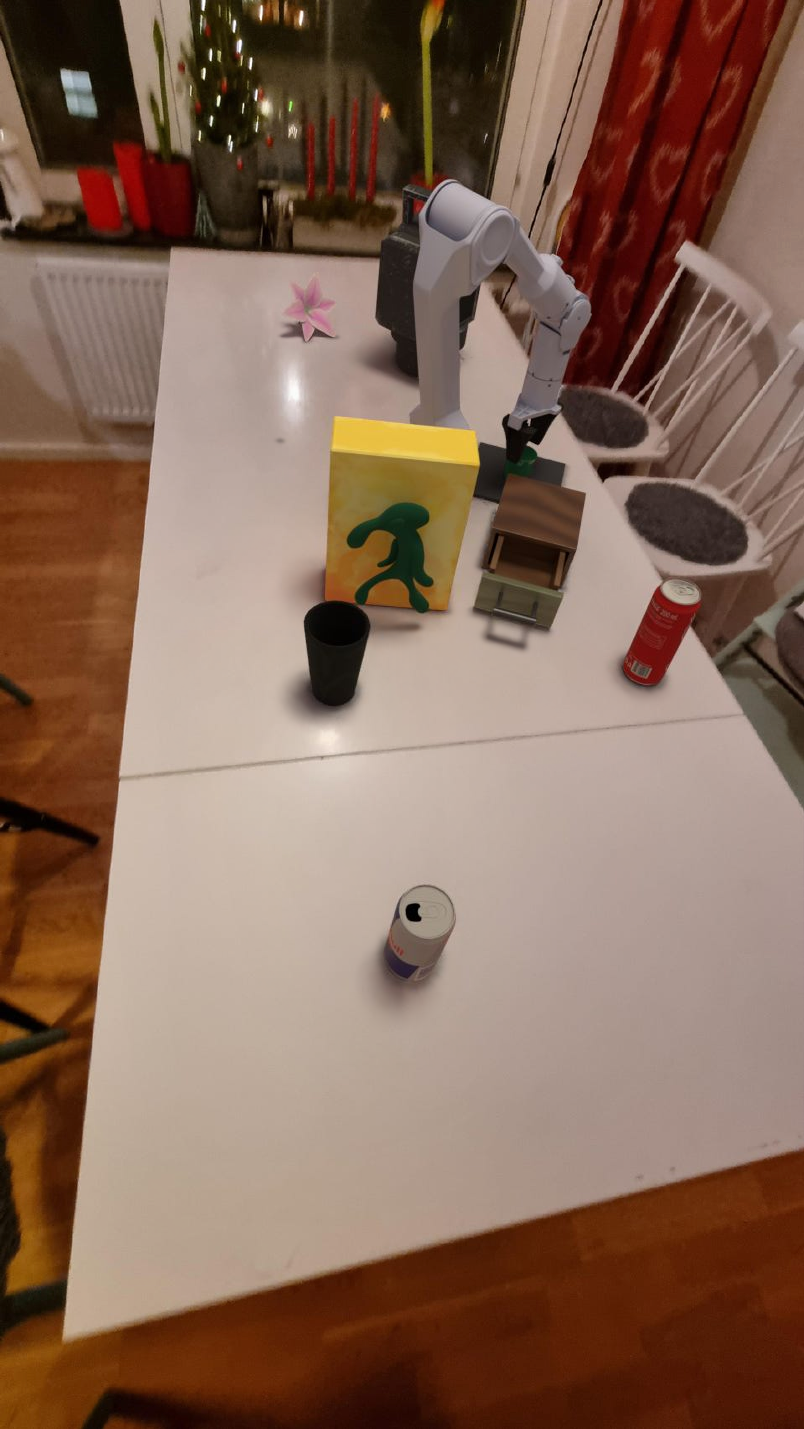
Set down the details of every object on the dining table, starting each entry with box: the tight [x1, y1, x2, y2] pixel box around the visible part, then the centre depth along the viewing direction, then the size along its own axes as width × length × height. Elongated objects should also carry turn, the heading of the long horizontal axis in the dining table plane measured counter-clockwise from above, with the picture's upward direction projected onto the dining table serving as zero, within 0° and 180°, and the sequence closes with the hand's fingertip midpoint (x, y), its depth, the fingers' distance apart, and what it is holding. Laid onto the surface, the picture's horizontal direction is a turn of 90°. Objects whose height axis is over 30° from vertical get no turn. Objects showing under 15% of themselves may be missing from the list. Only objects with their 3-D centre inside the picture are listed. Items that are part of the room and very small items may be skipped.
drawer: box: [473, 534, 566, 628], centre depth 100 cm, size 18×11×6 cm, turn 165°
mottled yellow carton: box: [324, 415, 480, 614], centre depth 90 cm, size 18×12×24 cm
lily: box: [282, 271, 337, 342], centre depth 144 cm, size 12×12×10 cm
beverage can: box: [622, 576, 702, 686], centre depth 91 cm, size 6×6×15 cm
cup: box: [303, 600, 372, 707], centre depth 84 cm, size 8×8×12 cm
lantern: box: [374, 183, 482, 379], centre depth 131 cm, size 15×18×30 cm
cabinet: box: [481, 473, 587, 589], centre depth 108 cm, size 15×13×8 cm
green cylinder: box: [503, 444, 539, 479], centre depth 120 cm, size 5×5×5 cm
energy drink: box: [383, 883, 457, 983], centre depth 65 cm, size 5×5×12 cm
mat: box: [473, 441, 567, 504], centre depth 122 cm, size 16×16×1 cm
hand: (523, 451), depth 118 cm, fingers open, 7 cm apart
